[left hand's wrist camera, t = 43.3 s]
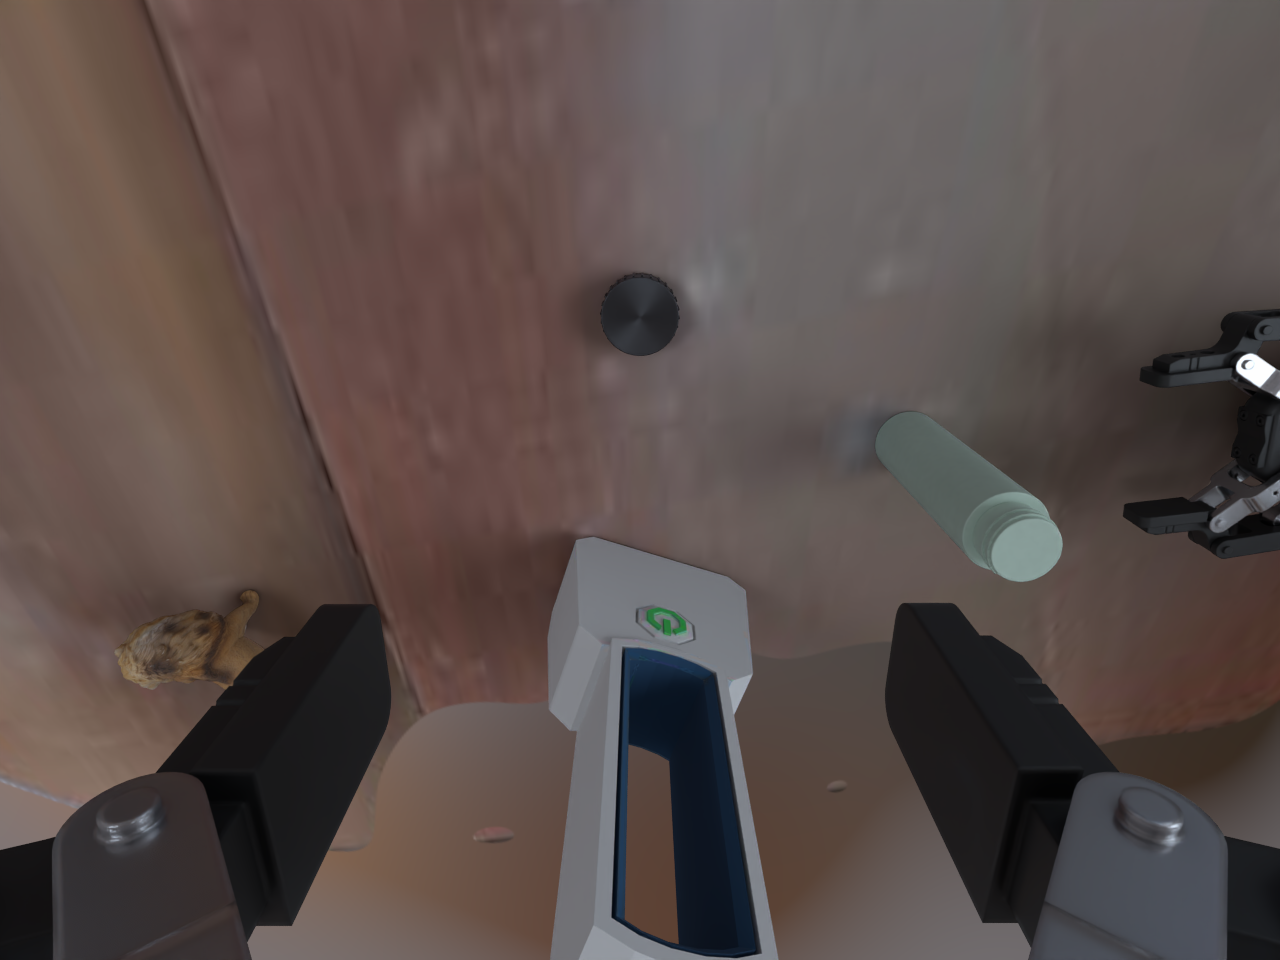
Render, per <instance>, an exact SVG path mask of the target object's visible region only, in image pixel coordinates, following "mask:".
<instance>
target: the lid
mask: <svg viewBox="0 0 1280 960" xmlns="http://www.w3.org/2000/svg"><path fill="white" fill-rule="evenodd" d="M676 302H677V299H676V297H674V295H673V291H672V289H669V287H668V286H667V283H666V282H665V283H664V282H662V281H661V280H660V278H659V277H658V278H656V277H654V276H652V274H650V275H647V274H643V273H641V274H634V273H633V275H629V276H626V275H625V276H624V278H622V279H620V280H617V282H616V283H615V284H614V285H613V286H612V285H611V287H610V290H609V292H608V293H607V292H606V294H605V300H604V301H603V302H602V305H601V306H603V307H602V310H601V312H600V315H601V324H602V327H603V331H604V332H605V334H606V336H607V339H608V340H609V341H610V342H611V343H612V344H613V345H614V346H615V347H616V348H618V349H619V350H621V351H622V352H624V353H627V354H630V355H636V356H644V355H650V354H653V353H655V352H658V351H659V350H661V349H663V348H664V347H665V346H666V345H667V344H668V343H669V342H670V341H671V339H672V338H673V336H674V335H675V332H676V330H677V328H678V320H679V319H680V317H679V313H678V310H679V307H678V305H677V303H676Z"/></svg>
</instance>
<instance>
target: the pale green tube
mask: <svg viewBox="0 0 1280 960" xmlns="http://www.w3.org/2000/svg"><path fill="white" fill-rule="evenodd" d="M875 449H876V454H877V456H878V458H879V460H880V461H881V463H882V464H883V465H884V466H885V467H886V468H887V469H888V470H889V471H890V473H891V474H892V475H893V476H894V477H895V478H896V479H897V480H898V481H899V482H900V483H901V485H902V486H903V487H904V488H905V489H906V490H907V491H908V492H909V493H910V494H911V495H912V497H913V498H914V499H915V500H916V501H917V502H918V503H919V504H920V505H921V506H922V507H923V509H924V510H925V511H926V512H927V513H928V514H929V515H930V516H931V517H932V518H933V519H934V521H935V522H936V523H937V524H938V525H939V526H940V527H941V528H942V529H943V530H944V531H945V533H946V534H947V535H948V536H949V537H950V538H951V539H952V540H953V541H954V542H955V543H956V545H957V546H958V547H959V548H960V549H961V550H962V551H963V552H964V553H965V554H966V555H967V557H968V558H969V559H970V560H971V561H972V562H974V563H975V564H976V565H978V566H980V567H982V568H985V569H989V570H992V571H993V573H994V574H995V573H996V574H998V575H1000V576H1002V577H1003V578H1005V579H1007V580H1011V581H1016V582H1025V581H1030V580H1034V579H1036V578H1039V577H1041V576H1043V575H1044V574H1046V573H1047V572H1048V571H1049V570H1051V569H1052V568H1053V566H1054V565H1055V564H1056V563H1057V561H1058V559H1059V557H1060V555H1061V552H1062V537H1061V534H1060V532H1059V529H1058V528H1057V526H1056V525H1055V523H1054V522H1053V521H1052V520H1050V518H1049V514H1048V511H1047V509H1046V507H1045V506H1044V505H1043V503H1042V502H1041V501H1040V500H1038V499H1037V498H1036V497H1035V496H1033V495H1032V494H1031V493H1029V492H1028V491H1027V490H1025V489H1024V488H1023V487H1021V486H1020V485H1019V484H1017V483H1016V482H1015V481H1013V480H1012V479H1011V478H1009V477H1008V476H1007V475H1005V474H1004V473H1003V472H1001V471H1000V470H999V469H997V468H996V467H995V466H993V465H992V464H991V463H989V462H988V461H987V460H985V459H984V458H983V457H981V456H980V455H979V454H977V453H976V452H975V451H973V450H972V449H971V448H969V447H968V446H967V445H965V444H964V443H963V442H962V441H960V440H959V439H958V438H956V437H955V436H954V435H952V434H951V433H950V432H948V431H947V430H946V429H944V428H943V427H942V426H940V425H939V424H938V423H936V422H935V421H934V420H932V419H931V418H930V417H928V416H927V415H925V414H923V413H920V412H912V411H910V412H903V413H900V414H897V415H895V416H893V417H892V418H890V419H889V420H887V421H886V422H885V423H884V424H883V426H882V427H881V428H880V430H879V432H878V434H877V437H876V442H875Z"/></svg>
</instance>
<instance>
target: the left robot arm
mask: <svg viewBox="0 0 1280 960" xmlns="http://www.w3.org/2000/svg"><path fill="white" fill-rule="evenodd" d="M885 703H886V712H887V717H888V721H889V725H890V728H891V730H892V732H893V735H894V737H895V739H896V741H897V743H898V745H899V747H900V749H901V752H902V754H903V756H904V758H905V760H906V762H907V764H908V766H909V768H910V771H911V773H912V775H913V777H914V779H915V781H916V783H917V785H918V787H919V790H920V792H921V794H922V796H923V798H924V800H925V802H926V804H927V806H928V809H929V811H930V813H931V815H932V817H933V819H934V821H935V823H936V825H937V827H938V830H939V832H940V834H941V836H942V838H943V840H944V842H945V844H946V847H947V849H948V851H949V853H950V855H951V857H952V859H953V861H954V863H955V865H956V868H957V870H958V872H959V874H960V876H961V878H962V880H963V882H964V885H965V887H966V889H967V891H968V893H969V895H970V897H971V899H972V901H973V903H974V906H975V908H976V910H977V912H978V914H979V916H980V918H981V920H982V922H983V923H1018V924H1019V926H1020V927H1021V929H1022V931H1023V933H1024V935H1025V937H1026V939H1027V941H1028V943H1029V945H1030V947H1031V951H1030V955H1029V959H1028V960H1280V849H1278V848H1273V847H1269V846H1265V845H1261V844H1256V843H1252V842H1248V841H1243V840H1239V839H1235V838H1231V837H1226V836H1224V835H1223V833H1222V832H1221V830H1220V829H1219V827H1218V826H1217V824H1216V823H1215V822H1214V821H1213V820H1212V819H1211V818H1210V816H1208V815H1207V814H1206V813H1205V812H1204V811H1203V810H1202V809H1201V808H1200V807H1198V806H1197V805H1196V804H1194V803H1193V802H1192V801H1190V800H1189V799H1187V798H1186V797H1184V796H1182V795H1181V794H1179V793H1178V792H1176V791H1174V790H1172V789H1170V788H1168V787H1166V786H1164V785H1161V784H1159V783H1157V782H1154V781H1152V780H1149V779H1146V778H1143V777H1139V776H1135V775H1131V774H1126V773H1120V772H1119V771H1118V770H1117V769H1116V767H1115V766H1114V765H1113V764H1112V763H1111V761H1110V760H1109V759H1108V758H1107V757H1106V756H1105V754H1104V753H1103V752H1102V751H1101V750H1100V748H1099V747H1098V746H1097V745H1096V744H1095V742H1094V741H1093V740H1092V739H1091V738H1090V736H1089V735H1088V734H1087V733H1086V732H1085V730H1084V729H1083V728H1082V727H1081V726H1080V724H1079V723H1078V722H1077V721H1076V720H1075V718H1074V717H1073V716H1072V715H1071V714H1070V712H1069V711H1068V710H1067V709H1066V708H1065V706H1064V705H1063V704H1059V703H1058V698H1057V697H1056V696H1055V695H1054V693H1053V692H1052V691H1051V690H1050V689H1049V687H1048V686H1047V685H1046V684H1042V679H1041V678H1040V677H1039V675H1038V674H1037V673H1036V672H1035V671H1034V669H1033V668H1032V667H1031V666H1030V665H1029V663H1028V662H1027V661H1026V660H1025V659H1024V658H1023V656H1022V655H1020V654H1019V653H1017V652H1016V651H1014V650H1013V649H1011V648H1009V647H1008V646H1006V645H1005V644H1003V643H1002V642H1000V641H999V640H997V639H996V638H994V637H993V636H980V635H979V634H978V633H977V631H976V630H975V629H974V627H973V626H972V625H971V624H970V622H969V621H968V620H967V618H966V617H965V616H964V615H963V613H962V612H961V611H960V609H959V608H958V607H957V606H956V605H955V604H953V603H902V604H901V605H900V606H899V608H898V610H897V614H896V619H895V625H894V632H893V639H892V646H891V653H890V660H889V667H888V674H887V681H886V688H885ZM390 708H391V687H390V680H389V673H388V667H387V660H386V653H385V646H384V639H383V633H382V626H381V619H380V615H379V612H378V609H377V608H376V606H374V605H372V604H324V605H322V606H320V607H319V608H318V609H317V610H316V612H315V613H314V614H313V615H312V617H311V618H310V619H309V620H308V622H307V623H306V624H305V626H304V627H303V628H302V629H301V631H300V632H299V633H298V634H297V636H296V637H283V638H282V639H280V640H279V641H277V642H276V643H274V644H273V645H271V646H270V647H268V648H267V649H265V650H264V651H262V652H261V653H259V654H257V655H256V656H254V657H253V658H252V659H251V660H250V662H249V663H248V664H247V665H246V666H245V668H244V669H243V670H242V671H241V672H240V674H239V675H238V676H237V677H236V678H235V679H234V681H233V686H229V687H228V688H227V689H226V690H225V691H224V692H223V694H222V695H221V696H220V697H219V698H218V700H217V701H216V706H212V707H211V708H210V709H209V710H208V711H207V713H206V714H205V715H204V716H203V717H202V718H201V720H200V721H199V722H198V723H197V724H196V726H195V727H194V728H193V729H192V730H191V732H190V733H189V734H188V735H187V736H186V737H185V739H184V740H183V741H182V742H181V743H180V745H179V746H178V747H177V748H176V749H175V750H174V752H173V753H172V754H171V755H170V756H169V758H168V759H167V760H166V761H165V762H164V763H163V765H162V766H161V767H160V768H159V769H158V771H157V772H156V773H154V774H149V775H145V776H140V777H137V778H134V779H131V780H128V781H126V782H123V783H121V784H118V785H116V786H114V787H112V788H110V789H108V790H106V791H104V792H102V793H101V794H99V795H98V796H96V797H94V798H93V799H91V800H90V801H88V802H87V803H86V804H84V805H83V806H82V807H80V808H79V809H78V810H77V811H76V812H75V813H74V814H73V815H72V816H70V818H69V819H68V820H67V821H66V822H65V823H64V824H63V826H62V827H61V829H60V830H59V832H58V834H57V835H56V837H53V838H50V839H46V840H42V841H37V842H33V843H29V844H25V845H20V846H16V847H12V848H7V849H3V850H0V960H252V959H251V955H250V951H249V948H248V944H247V942H248V940H249V938H250V936H251V934H252V932H253V930H254V928H255V927H256V926H292V924H293V922H294V920H295V918H296V916H297V914H298V912H299V910H300V907H301V905H302V903H303V901H304V899H305V897H306V895H307V893H308V891H309V889H310V887H311V885H312V882H313V880H314V878H315V876H316V874H317V872H318V870H319V868H320V866H321V864H322V862H323V860H324V857H325V855H326V853H327V851H328V849H329V847H330V845H331V843H332V841H333V839H334V837H335V835H336V832H337V830H338V828H339V826H340V824H341V822H342V820H343V818H344V816H345V814H346V812H347V810H348V807H349V805H350V803H351V801H352V799H353V797H354V795H355V793H356V791H357V789H358V787H359V784H360V782H361V780H362V778H363V776H364V774H365V772H366V770H367V768H368V766H369V764H370V762H371V759H372V757H373V755H374V753H375V751H376V749H377V747H378V745H379V743H380V741H381V739H382V736H383V734H384V732H385V730H386V727H387V724H388V720H389V715H390Z"/></svg>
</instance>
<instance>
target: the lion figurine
mask: <svg viewBox="0 0 1280 960" xmlns="http://www.w3.org/2000/svg"><path fill="white" fill-rule="evenodd" d="M240 599H241V601H242V602H243V604H242V606H240V607H238V608H236V609H235V610H233V611H232V612H230V613H229V614H228V615H227V616H226V617H225V618H223V617H222V616H221V615H217V613H214V612H204V611H200V610H191V611H187V612H184V613H180V614H177V615H171V616H162V617H159V618H157V619H155V620H153V621H152V622H149V623H146V624H143V625H141V626H139V627H138V628H137V629H135V630H134V631H133V632H132V633H131V634H130V635H129V637H128V639H127V640H126V641H125V642H124V643H123V644H121V645H120V646H119V647H118V648H117V649H116V650H115V653H114V654H115V655H116V656H117V657H118V658H119V660H118V665H120V666H121V672H122V673H123V677H124V678H125V679H127V680H131V681H133V682H134V683H139V684H140V686H141V687H147V688H149V689H155V688H157V686H158V685H159V684H160V683H162V682H163V683H167V682H171V681H177V682H183V683H191V682H194V681H195V680H207V681H212V682H214V683H216V684H218V685H219V686H221V687H222V688H224V689H225V690H226V689H227V688H228V687H229V686H233V681H234V679H235V678H236V677H237V676H238V675H239V674H240V672H241V671H242V670H243V669H244V668H245V666H246V665H247V664H248V663H249V662H250V660H251V659H252V658H253V657H254V656H256V655H257V654H259V653H261V652H262V651H264V650H265V649H263V648H262V647H261V646H260V645H258V644H257V643H255V642H253V641H252V640H250V639H248V638H246V637H244V634H245V630H246V628H247V626H246V624H247V622H248V620H249V619H250V618H251V616H252V614H253V613H255V611H256V609H257V606H258V603H259V596H258V594H257V593H256V592H255V591H251V590H248V591H245V592H244V593H243V594H242V596H241V597H240Z"/></svg>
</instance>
